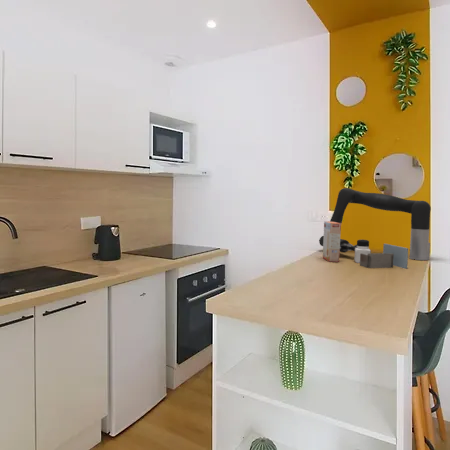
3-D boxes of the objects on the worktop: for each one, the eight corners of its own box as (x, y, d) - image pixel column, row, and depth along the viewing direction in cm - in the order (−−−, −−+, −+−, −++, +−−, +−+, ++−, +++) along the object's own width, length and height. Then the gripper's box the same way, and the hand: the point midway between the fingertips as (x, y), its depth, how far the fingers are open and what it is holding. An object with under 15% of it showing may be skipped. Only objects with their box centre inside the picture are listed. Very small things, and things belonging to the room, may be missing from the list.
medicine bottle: (370, 263, 198) (371, 240, 197) (356, 262, 199) (357, 240, 199) (368, 261, 205) (369, 239, 204) (354, 260, 206) (355, 238, 206)
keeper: (383, 264, 195) (384, 251, 194) (392, 267, 187) (393, 253, 187) (359, 265, 192) (360, 251, 192) (368, 268, 185) (369, 253, 184)
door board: (384, 262, 203) (385, 243, 202) (407, 268, 185) (408, 248, 184) (382, 262, 202) (383, 243, 202) (405, 268, 185) (406, 248, 184)
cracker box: (339, 262, 200) (341, 222, 199) (328, 262, 200) (330, 222, 199) (333, 258, 214) (334, 221, 213) (322, 257, 214) (323, 221, 213)
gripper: (330, 239, 224) (345, 242, 207) (350, 238, 226) (367, 242, 209) (329, 251, 224) (344, 256, 207) (350, 251, 227) (366, 255, 210)
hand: (356, 249), depth 208 cm, fingers closed
